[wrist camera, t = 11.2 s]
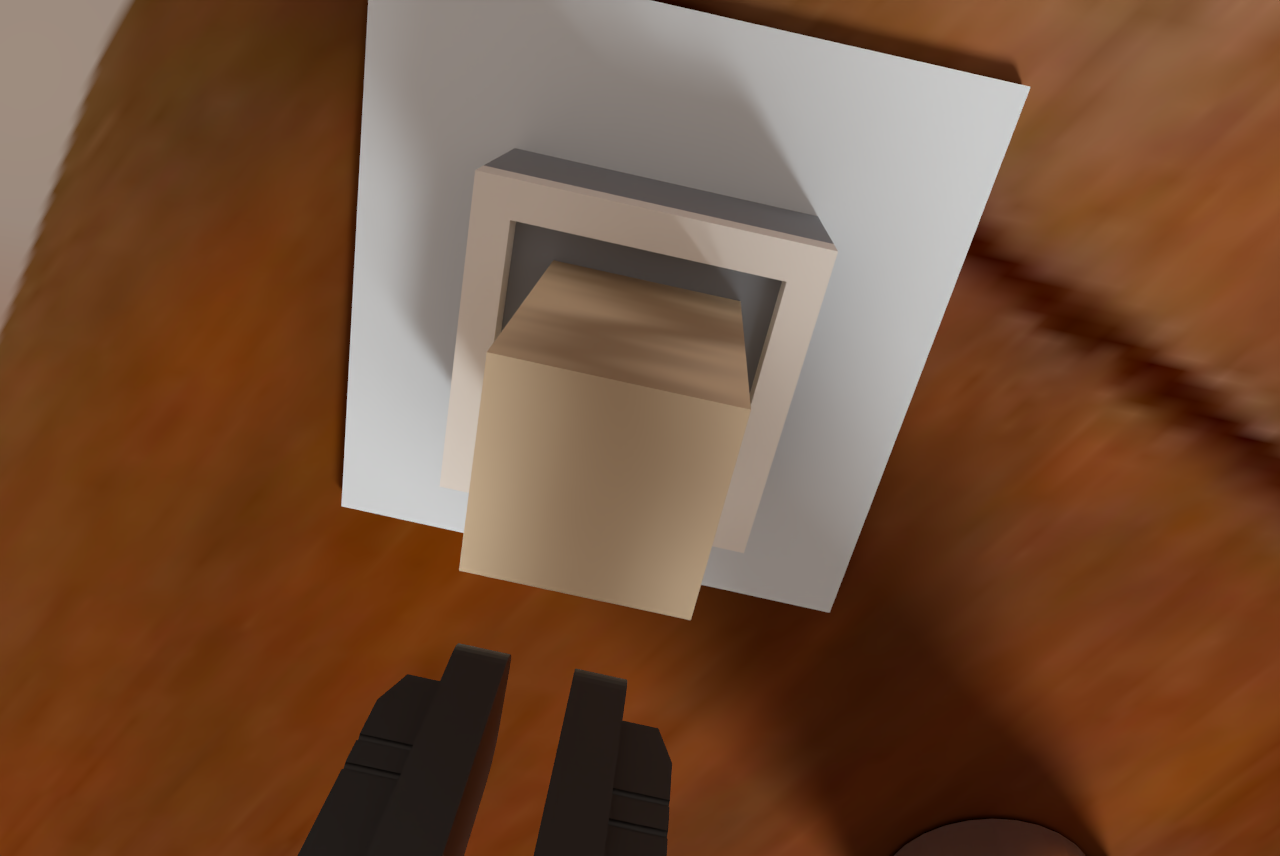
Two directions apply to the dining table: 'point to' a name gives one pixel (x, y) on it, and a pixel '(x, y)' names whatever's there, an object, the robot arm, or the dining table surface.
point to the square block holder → (661, 239)
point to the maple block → (607, 439)
